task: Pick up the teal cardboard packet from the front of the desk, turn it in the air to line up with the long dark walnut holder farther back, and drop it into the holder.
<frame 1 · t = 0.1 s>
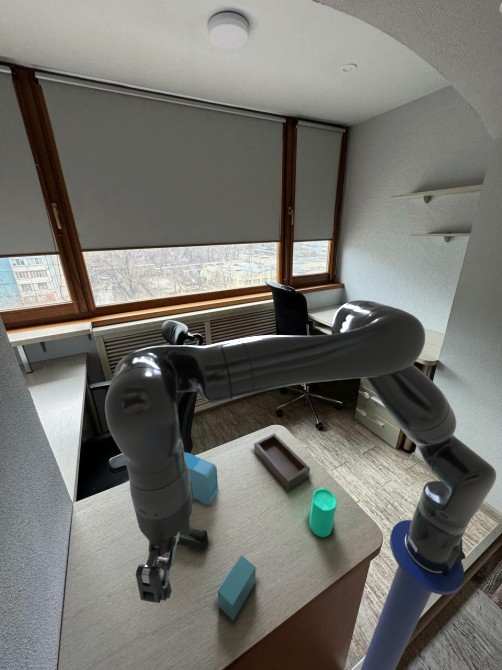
hand: (175, 560, 43), 26 cm above the table, tool pointing down, fingers open, 8 cm apart
data package: (198, 492, 82), on the table
packet: (237, 593, 59), on the table
candle: (320, 525, 73), on the table
holder: (280, 463, 92), on the table
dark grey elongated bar: (180, 539, 70), on the table
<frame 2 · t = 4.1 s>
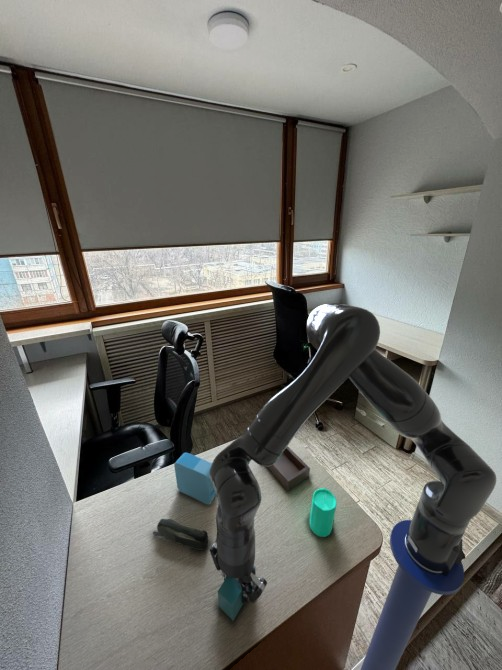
hand: (237, 590, 59), 1 cm above the table, tool pointing down, fingers closed on packet, 4 cm apart
packet: (237, 594, 59), on the table, touching gripper
everything else where it was.
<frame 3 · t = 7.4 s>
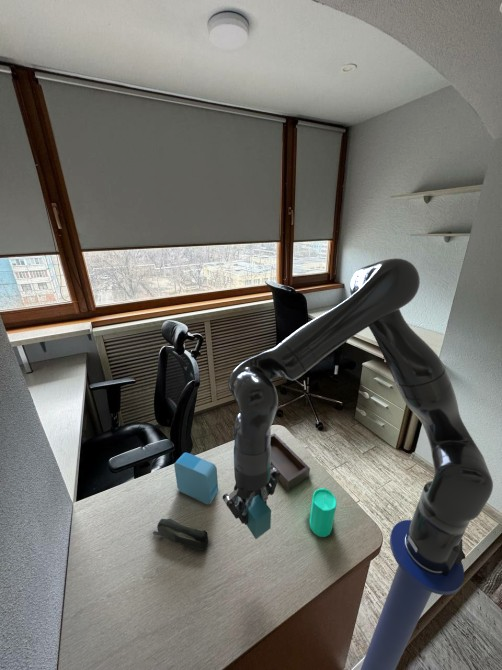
hand: (252, 514, 61), 15 cm above the table, tool pointing down, fingers closed on packet, 4 cm apart
packet: (252, 518, 61), point 14 cm above the table, touching gripper
everything else where it was.
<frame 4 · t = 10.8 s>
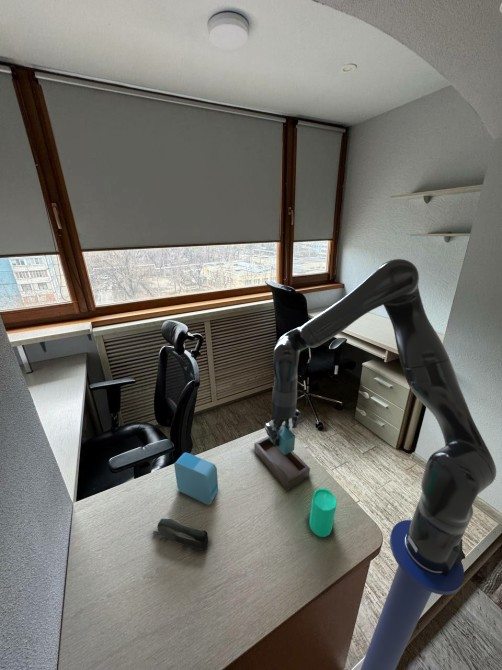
hand: (281, 441, 88), 9 cm above the table, tool pointing down, fingers closed on packet, 4 cm apart
packet: (281, 444, 89), point 8 cm above the table, touching gripper
everything else where it was.
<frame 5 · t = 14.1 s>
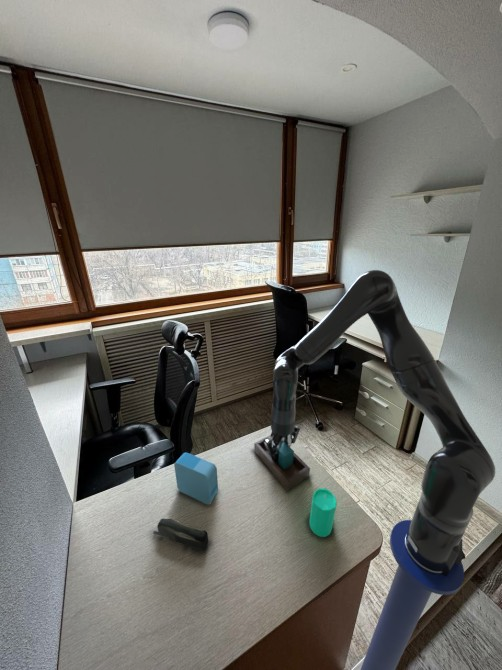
hand: (280, 456, 91), 3 cm above the table, tool pointing down, fingers closed on packet, 4 cm apart
packet: (280, 459, 91), point 2 cm above the table, touching gripper
everything else where it was.
when the fingers open (4 cm above the table, at t = 17.4 s): packet drops 1 cm, resting on holder.
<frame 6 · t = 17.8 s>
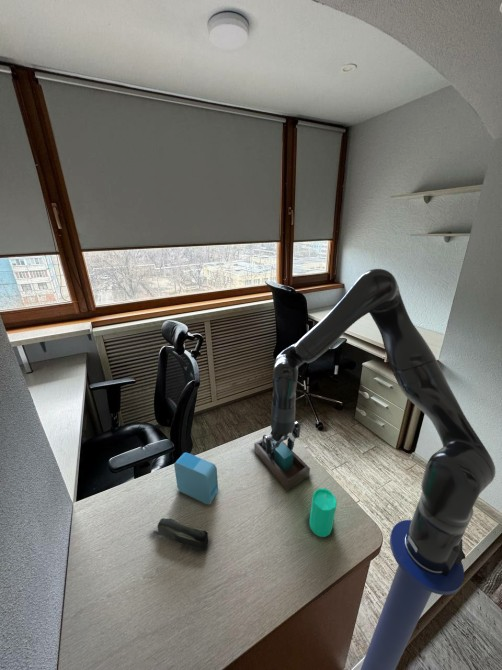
hand: (280, 453, 90), 4 cm above the table, tool pointing down, fingers open, 7 cm apart
packet: (280, 461, 91), point 1 cm above the table, touching holder
everything else where it was.
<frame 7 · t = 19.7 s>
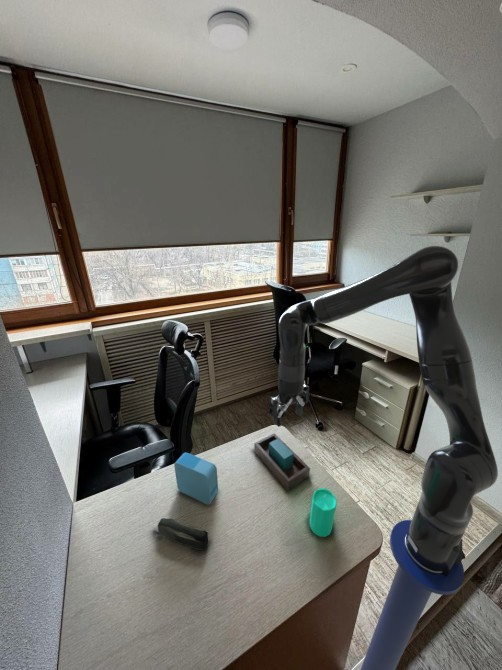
hand: (288, 419, 84), 19 cm above the table, tool pointing down, fingers open, 8 cm apart
nothing on the table moved.
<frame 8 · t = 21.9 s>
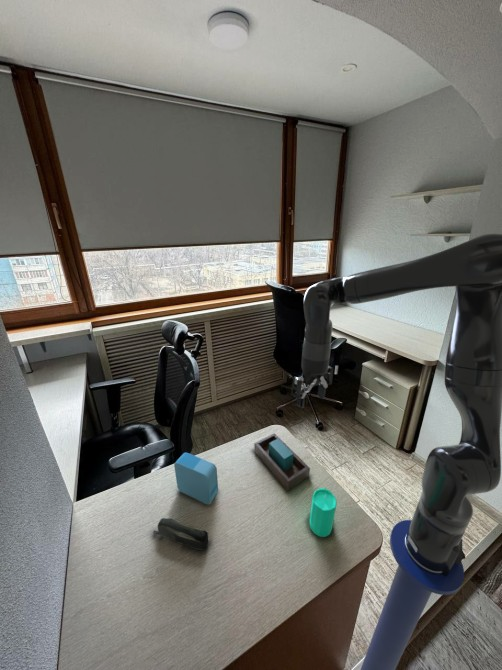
hand: (310, 401, 81), 26 cm above the table, tool pointing down, fingers open, 8 cm apart
nothing on the table moved.
at the end: packet inside the target area in the holder (0.0 cm from its centre), point 0.8 cm above the holder's base; the gripper is holding nothing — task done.
